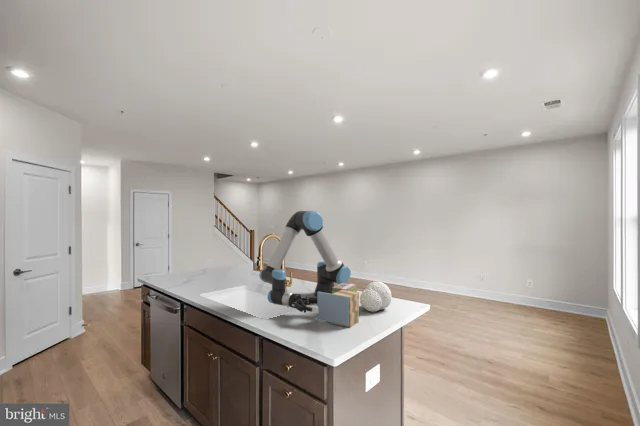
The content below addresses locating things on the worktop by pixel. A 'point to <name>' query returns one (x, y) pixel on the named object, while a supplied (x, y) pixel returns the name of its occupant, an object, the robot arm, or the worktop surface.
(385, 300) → the cauliflower
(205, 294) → the worktop surface
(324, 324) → the worktop surface
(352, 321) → the carton
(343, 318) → the flap
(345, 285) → the tea box
